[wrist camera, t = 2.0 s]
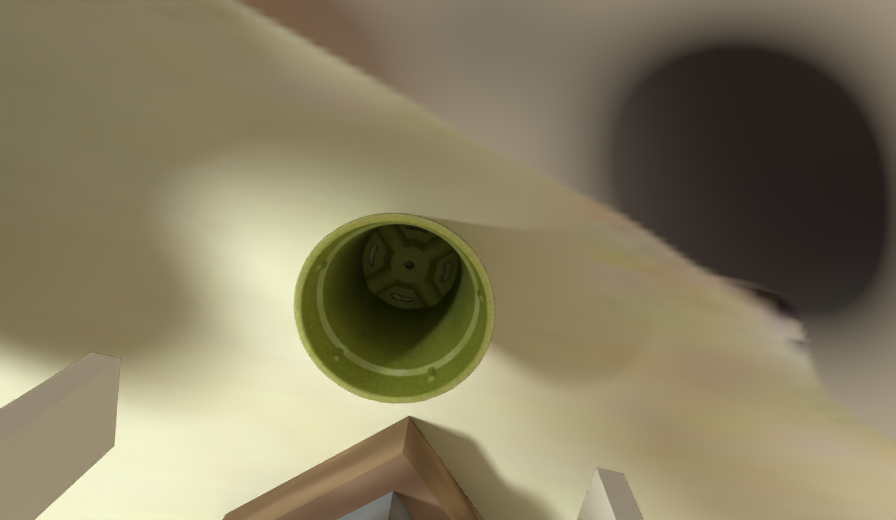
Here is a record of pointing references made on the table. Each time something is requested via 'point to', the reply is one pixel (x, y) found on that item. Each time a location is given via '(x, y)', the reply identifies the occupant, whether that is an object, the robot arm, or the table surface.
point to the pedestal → (369, 485)
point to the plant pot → (394, 308)
